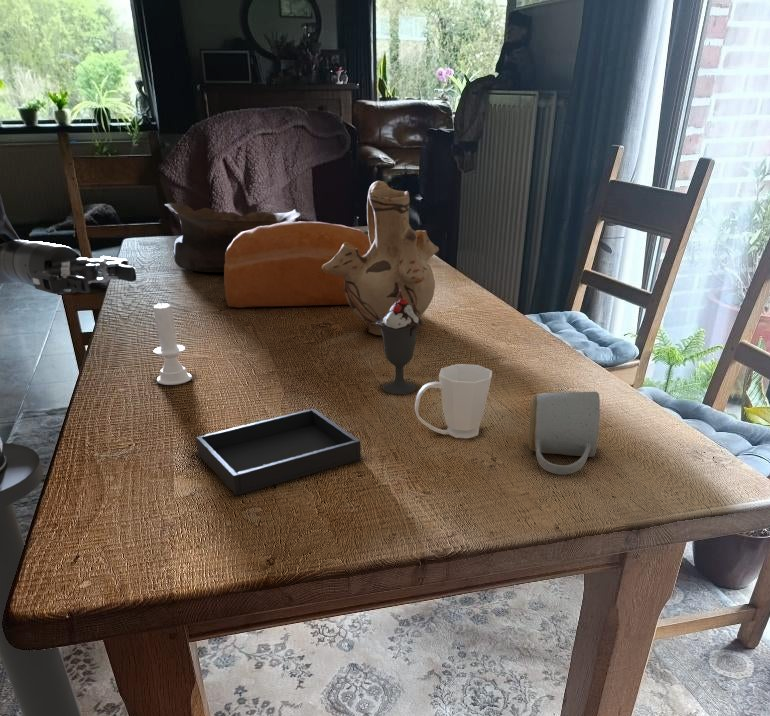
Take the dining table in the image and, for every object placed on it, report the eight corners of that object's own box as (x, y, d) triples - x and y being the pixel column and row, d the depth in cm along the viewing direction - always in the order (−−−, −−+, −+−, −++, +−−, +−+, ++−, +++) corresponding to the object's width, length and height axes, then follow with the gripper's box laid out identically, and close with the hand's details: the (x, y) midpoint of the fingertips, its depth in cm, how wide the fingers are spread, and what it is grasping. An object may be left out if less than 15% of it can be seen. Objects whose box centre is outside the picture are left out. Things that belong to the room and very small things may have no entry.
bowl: (191, 258, 198) (186, 200, 191) (309, 264, 197) (309, 206, 191) (149, 275, 167) (143, 205, 160) (290, 282, 166) (289, 213, 160)
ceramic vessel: (324, 339, 127) (316, 187, 114) (363, 312, 143) (360, 175, 130) (420, 350, 122) (423, 192, 109) (450, 320, 137) (456, 178, 124)
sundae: (393, 400, 102) (393, 295, 95) (369, 386, 107) (366, 285, 99) (430, 390, 105) (433, 288, 98) (404, 377, 110) (405, 279, 102)
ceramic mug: (526, 436, 91) (531, 379, 87) (591, 439, 90) (600, 382, 86) (525, 475, 82) (531, 414, 78) (597, 480, 81) (607, 419, 77)
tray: (236, 496, 79) (233, 476, 77) (198, 455, 88) (195, 436, 86) (361, 459, 86) (360, 440, 85) (314, 425, 95) (313, 408, 94)
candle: (150, 379, 111) (135, 302, 104) (180, 371, 114) (168, 295, 108) (168, 388, 107) (154, 308, 101) (198, 379, 111) (186, 301, 104)
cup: (497, 440, 90) (502, 379, 86) (421, 447, 89) (422, 386, 85) (480, 418, 96) (483, 361, 92) (408, 425, 95) (408, 367, 90)
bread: (231, 293, 157) (222, 218, 149) (379, 289, 158) (378, 215, 150) (223, 310, 145) (213, 229, 137) (383, 305, 147) (382, 225, 139)
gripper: (1, 251, 110) (64, 263, 102) (81, 236, 120) (143, 246, 112) (15, 299, 114) (76, 315, 106) (91, 281, 124) (152, 294, 116)
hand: (111, 280), depth 109 cm, fingers open, 8 cm apart
